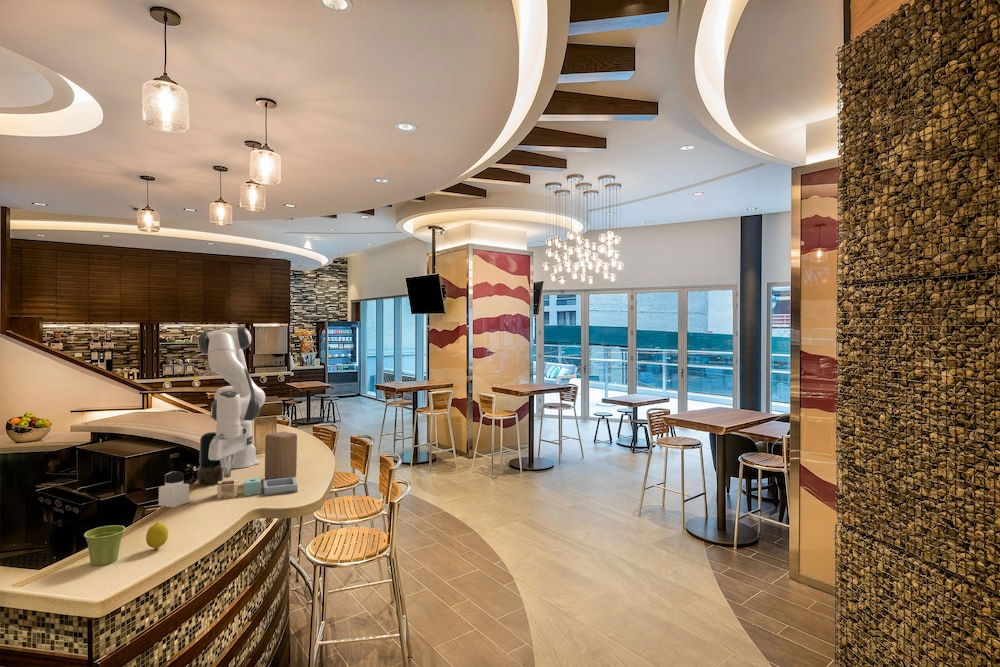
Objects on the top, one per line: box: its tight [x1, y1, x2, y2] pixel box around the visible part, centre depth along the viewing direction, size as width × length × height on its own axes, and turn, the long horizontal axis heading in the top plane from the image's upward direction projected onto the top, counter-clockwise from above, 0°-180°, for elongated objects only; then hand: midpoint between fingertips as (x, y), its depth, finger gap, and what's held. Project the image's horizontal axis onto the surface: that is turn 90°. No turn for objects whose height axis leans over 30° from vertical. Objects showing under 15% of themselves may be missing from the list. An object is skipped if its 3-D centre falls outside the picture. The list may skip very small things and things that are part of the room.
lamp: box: [197, 431, 224, 486], centre depth 225 cm, size 10×10×22 cm
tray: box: [262, 476, 298, 496], centre depth 217 cm, size 12×12×3 cm
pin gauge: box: [223, 455, 232, 479], centre depth 209 cm, size 3×3×10 cm
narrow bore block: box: [243, 477, 262, 496], centre depth 213 cm, size 6×6×5 cm
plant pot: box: [83, 524, 127, 566], centre depth 147 cm, size 9×9×9 cm
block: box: [264, 431, 298, 480], centre depth 235 cm, size 10×10×20 cm
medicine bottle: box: [158, 470, 190, 508], centre depth 197 cm, size 7×7×12 cm
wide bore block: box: [216, 479, 238, 499], centre depth 209 cm, size 7×7×5 cm
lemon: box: [145, 522, 169, 550], centre depth 156 cm, size 6×6×8 cm
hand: (227, 466), depth 209 cm, fingers closed on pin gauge, 3 cm apart
